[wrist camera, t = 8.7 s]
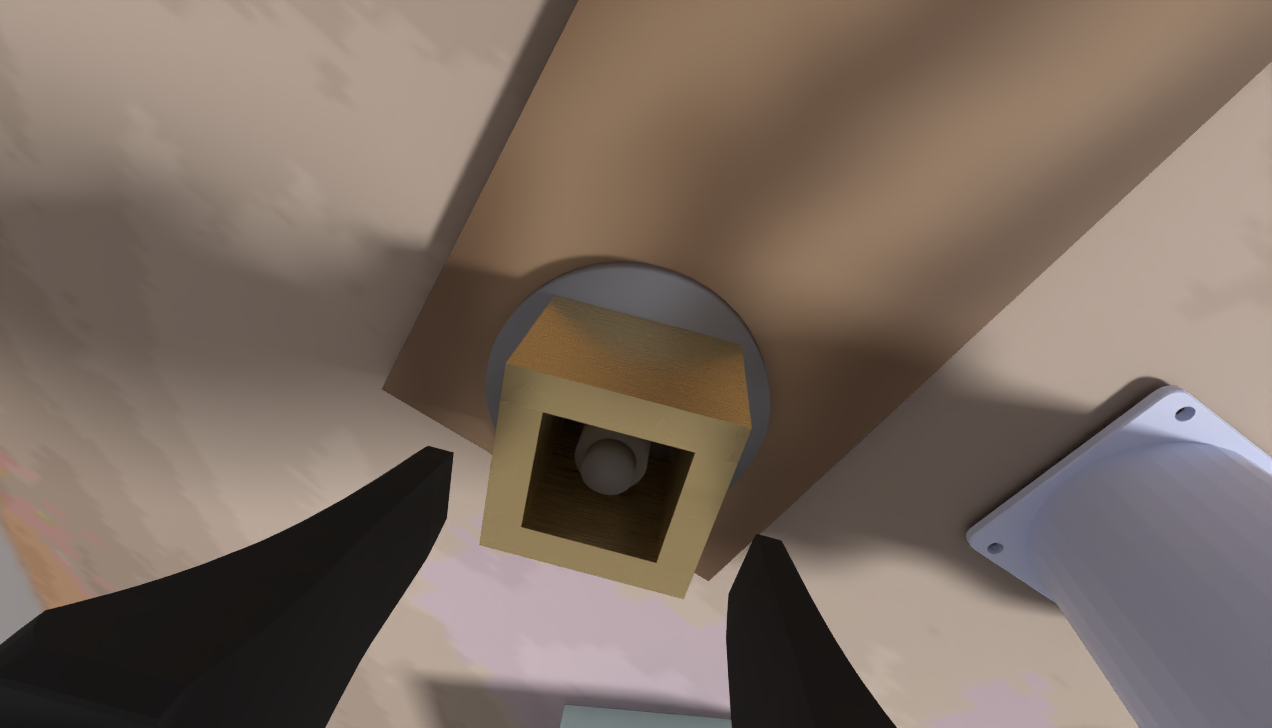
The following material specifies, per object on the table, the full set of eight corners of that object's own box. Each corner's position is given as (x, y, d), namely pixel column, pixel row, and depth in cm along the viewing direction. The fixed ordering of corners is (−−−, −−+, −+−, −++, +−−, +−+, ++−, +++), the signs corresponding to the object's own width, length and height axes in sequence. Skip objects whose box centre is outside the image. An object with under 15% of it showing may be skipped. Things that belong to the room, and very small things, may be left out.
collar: (741, 344, 16) (751, 428, 12) (688, 490, 19) (683, 598, 15) (555, 294, 16) (505, 362, 12) (527, 447, 19) (479, 544, 15)
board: (1597, -281, 11) (2272, -559, 6) (708, 561, 23) (708, 684, 18) (1075, -949, 8) (1514, -2183, 4) (396, 375, 20) (304, 461, 16)
